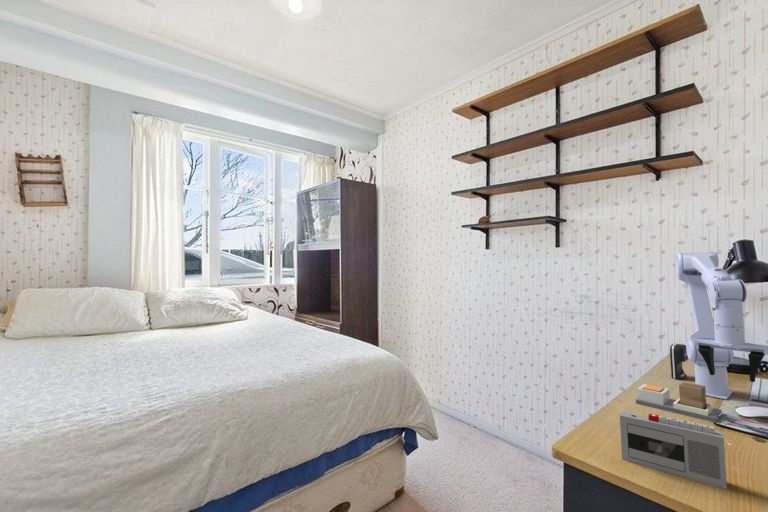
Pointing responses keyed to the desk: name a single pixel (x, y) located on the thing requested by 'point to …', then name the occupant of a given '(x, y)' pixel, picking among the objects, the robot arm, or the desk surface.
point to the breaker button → (653, 388)
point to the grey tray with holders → (675, 404)
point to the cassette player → (674, 447)
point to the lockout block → (693, 395)
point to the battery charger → (678, 360)
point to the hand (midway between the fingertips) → (731, 377)
